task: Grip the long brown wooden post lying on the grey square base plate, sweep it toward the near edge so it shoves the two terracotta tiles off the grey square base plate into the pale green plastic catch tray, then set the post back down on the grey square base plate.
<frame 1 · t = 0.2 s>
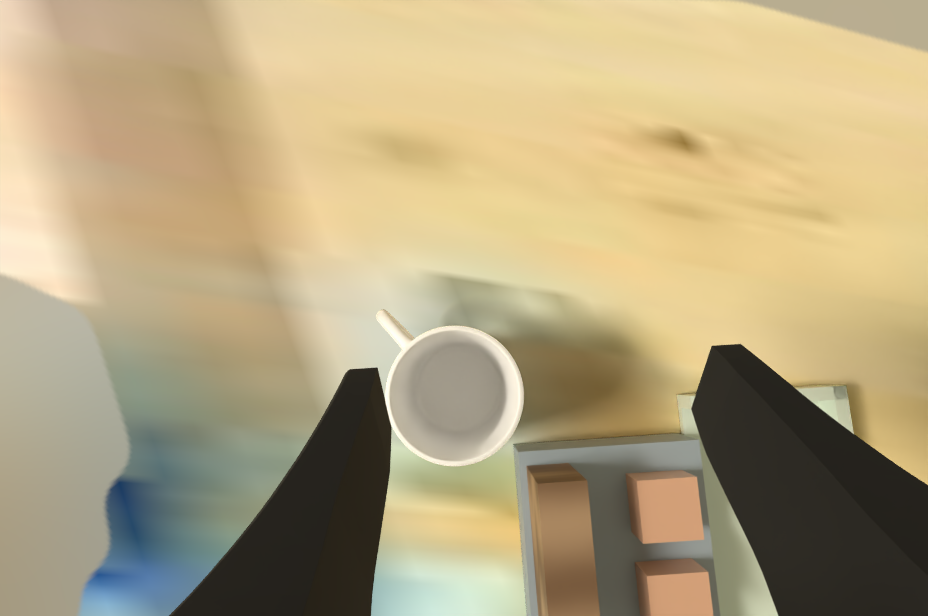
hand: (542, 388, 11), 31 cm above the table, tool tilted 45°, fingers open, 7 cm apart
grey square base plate: (603, 530, 40), on the table
tile a: (666, 590, 36), point 4 cm above the table, touching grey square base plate
long brown wooden post: (554, 552, 36), point 4 cm above the table, touching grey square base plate
tile b: (656, 500, 37), point 4 cm above the table, touching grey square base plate
tray: (767, 519, 40), on the table
mug: (445, 372, 42), on the table
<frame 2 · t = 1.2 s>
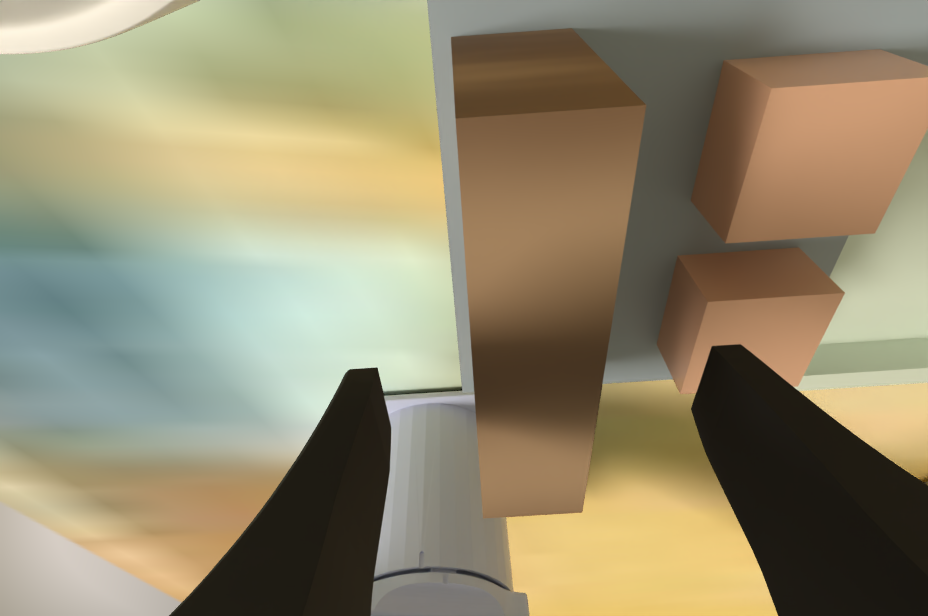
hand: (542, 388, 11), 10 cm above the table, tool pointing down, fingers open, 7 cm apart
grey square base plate: (618, 177, 20), on the table
tile a: (722, 299, 18), point 4 cm above the table, touching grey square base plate
long brown wooden post: (511, 240, 17), point 4 cm above the table, touching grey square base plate
tile b: (776, 131, 15), point 4 cm above the table, touching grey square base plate
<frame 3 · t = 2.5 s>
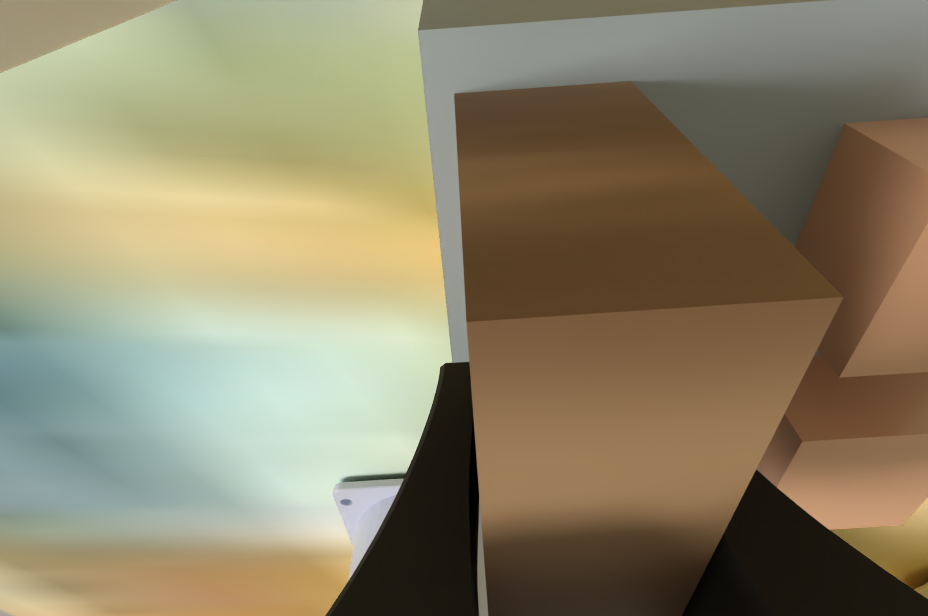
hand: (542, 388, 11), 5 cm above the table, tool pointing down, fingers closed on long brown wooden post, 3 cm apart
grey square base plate: (664, 245, 16), on the table
tile a: (801, 406, 14), point 4 cm above the table, touching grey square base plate
long brown wooden post: (533, 345, 13), point 4 cm above the table, touching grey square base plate, gripper
tile b: (903, 214, 11), point 4 cm above the table, touching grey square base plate
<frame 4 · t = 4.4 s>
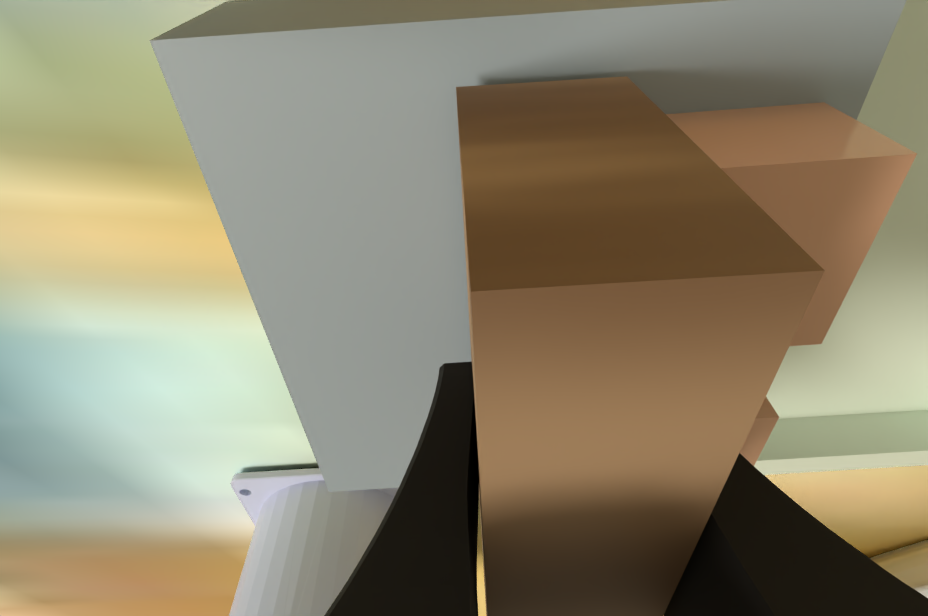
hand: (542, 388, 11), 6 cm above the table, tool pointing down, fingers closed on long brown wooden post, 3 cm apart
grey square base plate: (506, 242, 16), on the table
tile a: (644, 397, 15), point 4 cm above the table, touching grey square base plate, long brown wooden post
long brown wooden post: (530, 336, 13), point 4 cm above the table, touching gripper, tile a
tile b: (696, 204, 11), point 4 cm above the table, touching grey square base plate
tray: (913, 215, 16), on the table
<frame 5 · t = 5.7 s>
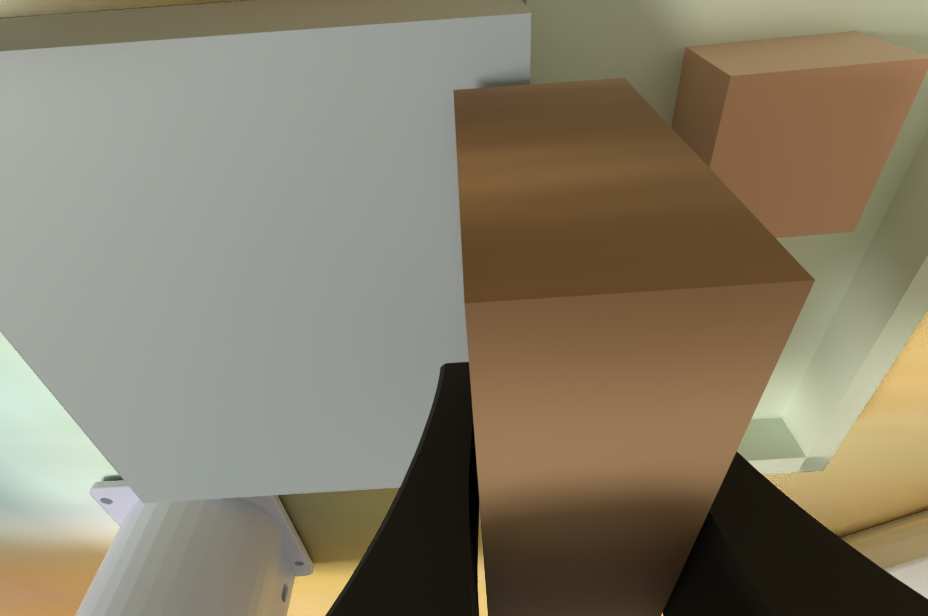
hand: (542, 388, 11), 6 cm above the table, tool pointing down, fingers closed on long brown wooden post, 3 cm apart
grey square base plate: (304, 255, 16), on the table
long brown wooden post: (530, 335, 13), point 4 cm above the table, touching gripper
tile b: (798, 161, 12), point 3 cm above the table, tilted 180°, touching tray
tray: (708, 228, 16), on the table
salad plate: (880, 569, 33), on the table
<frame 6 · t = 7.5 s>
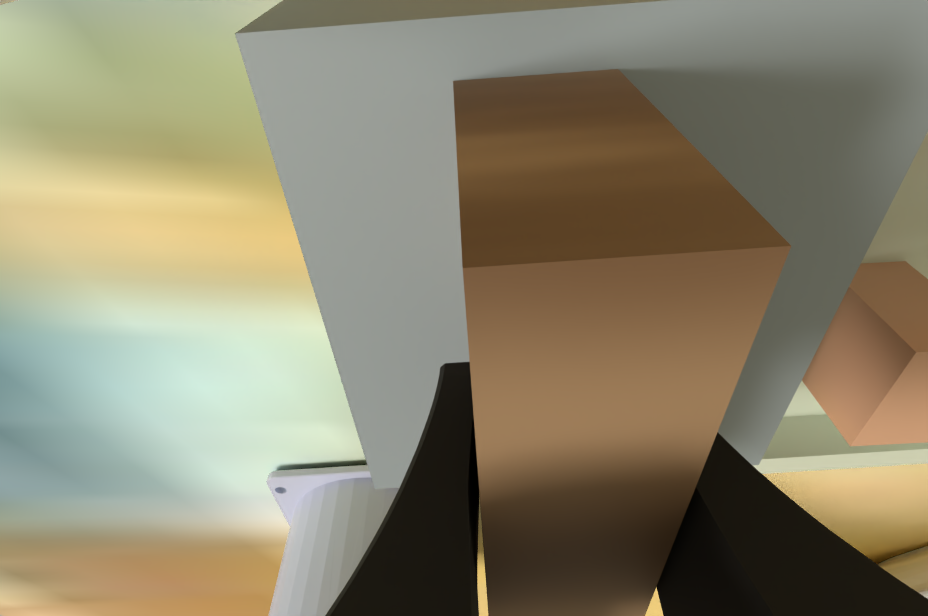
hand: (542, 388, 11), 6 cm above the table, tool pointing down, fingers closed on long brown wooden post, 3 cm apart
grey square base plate: (556, 237, 16), on the table
tile a: (838, 354, 16), point 3 cm above the table, tilted 90°, touching tray
long brown wooden post: (529, 324, 13), point 4 cm above the table, touching gripper
when the fingers open (6 cm above the table, at t = 8.2 s): long brown wooden post stays where it is, resting on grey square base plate.
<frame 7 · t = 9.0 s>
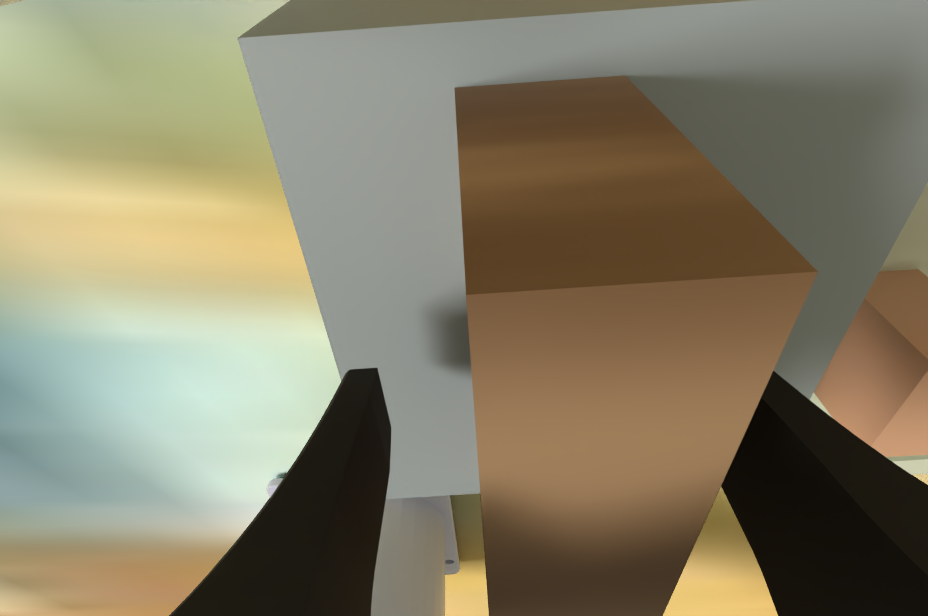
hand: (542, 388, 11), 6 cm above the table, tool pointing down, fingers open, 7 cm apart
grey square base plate: (563, 244, 16), on the table
tile a: (850, 363, 16), point 3 cm above the table, tilted 90°, touching tray
long brown wooden post: (531, 335, 13), point 4 cm above the table, touching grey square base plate
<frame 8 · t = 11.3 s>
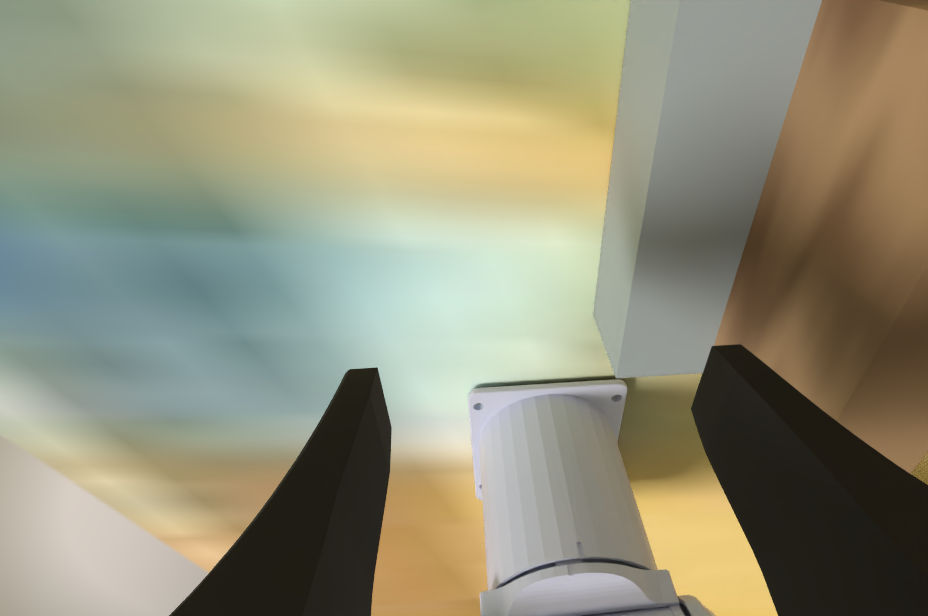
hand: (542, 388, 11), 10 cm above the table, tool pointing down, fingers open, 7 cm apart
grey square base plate: (785, 157, 19), on the table
long brown wooden post: (803, 210, 16), point 4 cm above the table, touching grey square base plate
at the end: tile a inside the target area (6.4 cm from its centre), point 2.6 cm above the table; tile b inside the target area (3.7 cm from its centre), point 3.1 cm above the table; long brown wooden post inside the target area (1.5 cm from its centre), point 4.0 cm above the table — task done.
